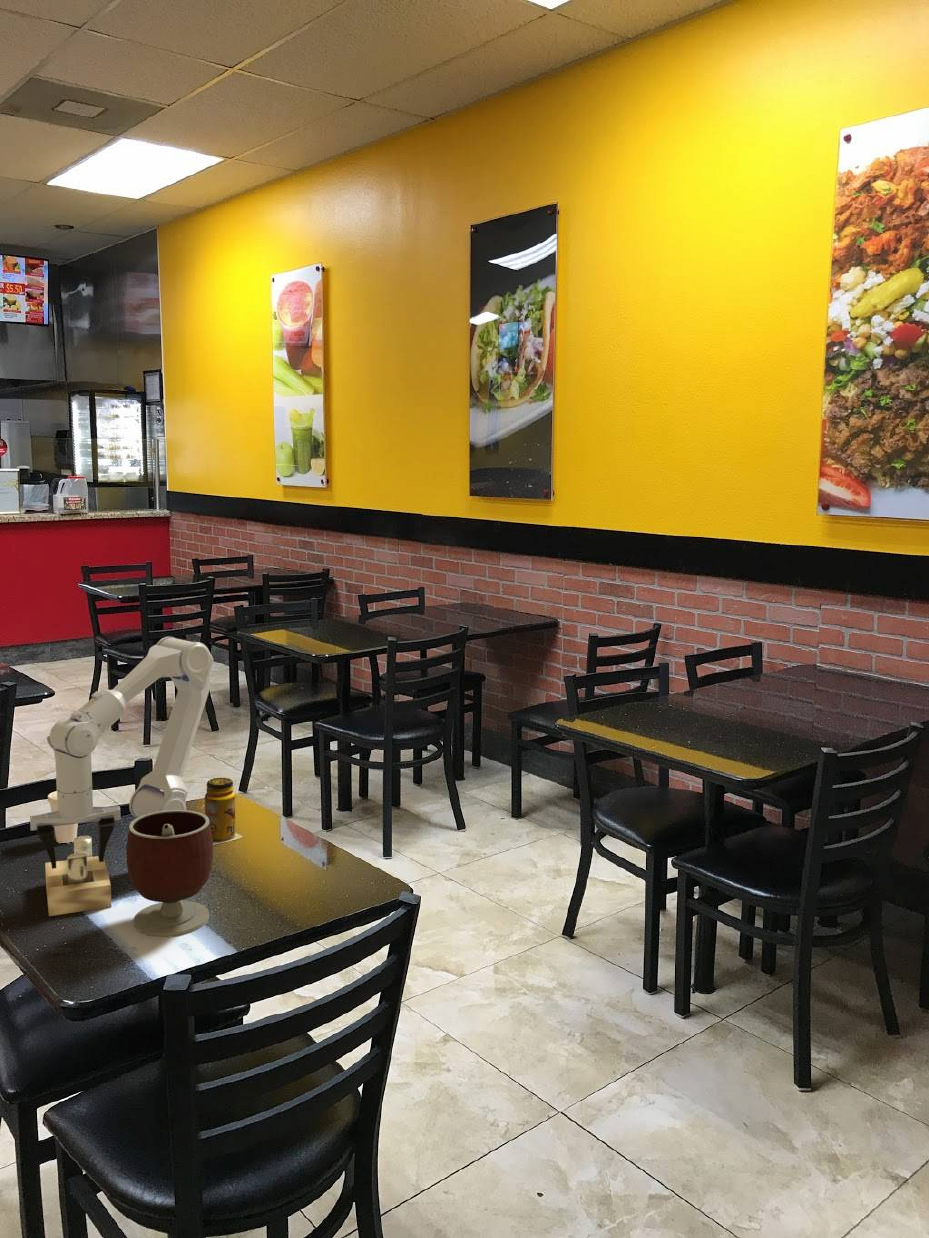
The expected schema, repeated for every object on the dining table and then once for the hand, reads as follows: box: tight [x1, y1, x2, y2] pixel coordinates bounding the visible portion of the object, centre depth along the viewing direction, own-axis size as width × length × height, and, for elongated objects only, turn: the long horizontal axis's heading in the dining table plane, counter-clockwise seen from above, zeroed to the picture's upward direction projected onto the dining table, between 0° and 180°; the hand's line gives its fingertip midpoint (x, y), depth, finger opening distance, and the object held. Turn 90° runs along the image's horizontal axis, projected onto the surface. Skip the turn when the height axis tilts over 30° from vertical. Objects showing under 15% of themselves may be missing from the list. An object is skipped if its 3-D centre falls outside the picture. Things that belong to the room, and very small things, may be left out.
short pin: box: [73, 835, 93, 857], centre depth 193 cm, size 3×3×4 cm
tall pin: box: [66, 853, 88, 885], centre depth 175 cm, size 3×3×8 cm
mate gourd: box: [125, 809, 214, 938], centre depth 166 cm, size 16×14×20 cm
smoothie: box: [47, 790, 79, 844], centre depth 201 cm, size 6×6×14 cm
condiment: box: [204, 777, 244, 846], centre depth 205 cm, size 7×8×12 cm
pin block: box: [44, 855, 112, 917], centre depth 177 cm, size 10×14×4 cm
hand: (77, 863), depth 174 cm, fingers open, 7 cm apart
